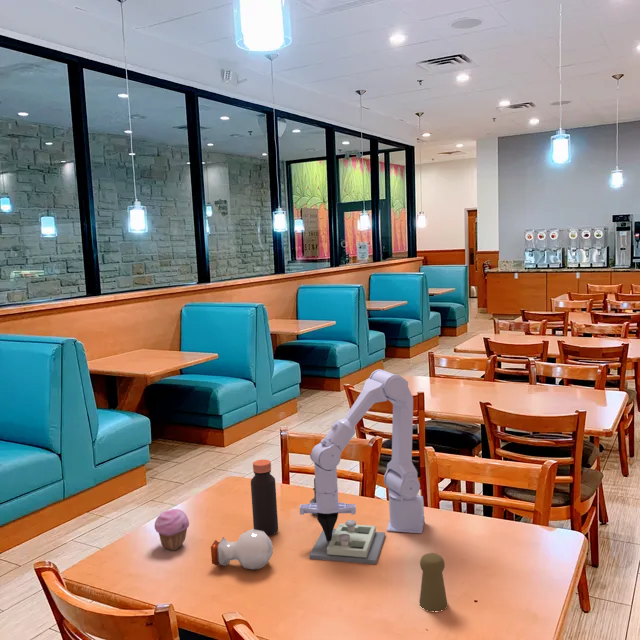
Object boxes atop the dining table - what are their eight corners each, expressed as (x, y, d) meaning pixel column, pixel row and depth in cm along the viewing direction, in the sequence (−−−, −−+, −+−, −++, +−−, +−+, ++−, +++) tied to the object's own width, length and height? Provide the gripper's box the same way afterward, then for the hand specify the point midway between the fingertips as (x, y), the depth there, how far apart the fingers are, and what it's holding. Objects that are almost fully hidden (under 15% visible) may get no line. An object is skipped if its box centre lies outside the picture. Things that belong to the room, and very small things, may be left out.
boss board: (309, 558, 156) (308, 540, 156) (324, 531, 170) (323, 514, 170) (376, 564, 152) (375, 545, 151) (385, 535, 166) (384, 518, 166)
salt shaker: (328, 517, 179) (326, 477, 178) (308, 516, 180) (306, 477, 179) (332, 509, 185) (330, 470, 183) (312, 508, 186) (310, 469, 185)
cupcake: (150, 550, 165) (147, 514, 163) (172, 536, 172) (169, 502, 171) (176, 557, 160) (173, 520, 159) (197, 542, 168) (194, 507, 167)
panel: (327, 554, 155) (326, 548, 155) (339, 529, 169) (339, 523, 168) (366, 557, 153) (366, 551, 152) (375, 531, 166) (375, 525, 166)
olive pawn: (416, 597, 137) (414, 550, 135) (443, 595, 137) (441, 548, 136) (423, 613, 131) (421, 564, 129) (451, 611, 131) (449, 562, 130)
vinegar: (280, 526, 175) (276, 458, 173) (276, 537, 169) (271, 466, 166) (256, 526, 176) (252, 458, 174) (251, 537, 169) (246, 467, 167)
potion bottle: (276, 575, 152) (218, 580, 154) (279, 538, 159) (223, 543, 161) (266, 557, 146) (205, 563, 148) (269, 519, 153) (211, 525, 155)
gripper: (355, 483, 164) (357, 532, 165) (301, 483, 165) (303, 532, 167) (354, 494, 157) (356, 545, 158) (297, 494, 158) (300, 544, 160)
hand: (329, 539), depth 162 cm, fingers closed
